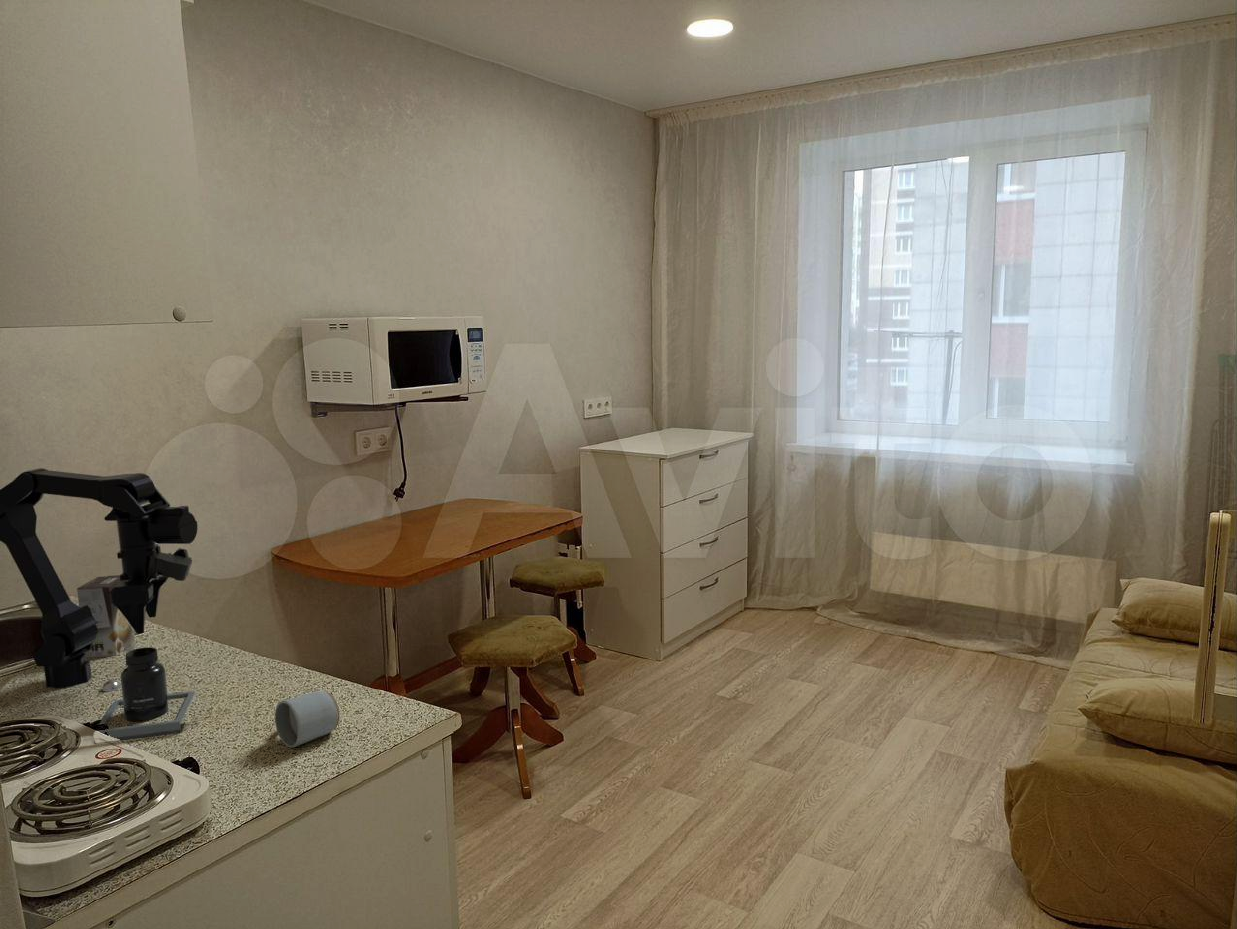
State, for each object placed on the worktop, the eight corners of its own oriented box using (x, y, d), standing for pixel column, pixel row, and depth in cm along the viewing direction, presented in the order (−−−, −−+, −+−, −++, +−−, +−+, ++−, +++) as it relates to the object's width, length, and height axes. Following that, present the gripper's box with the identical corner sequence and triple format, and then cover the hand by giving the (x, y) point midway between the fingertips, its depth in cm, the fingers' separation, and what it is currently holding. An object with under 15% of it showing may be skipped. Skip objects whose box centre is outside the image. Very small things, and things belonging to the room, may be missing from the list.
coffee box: (117, 662, 180) (108, 587, 178) (84, 664, 180) (75, 588, 177) (137, 646, 189) (128, 574, 187) (105, 648, 189) (96, 575, 186)
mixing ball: (101, 700, 162) (99, 684, 162) (105, 693, 165) (104, 678, 165) (119, 698, 163) (117, 682, 163) (123, 691, 166) (121, 676, 165)
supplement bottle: (139, 729, 149) (132, 662, 147) (116, 721, 152) (109, 654, 150) (177, 714, 154) (171, 648, 152) (155, 706, 158) (148, 642, 156)
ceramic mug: (344, 734, 147) (341, 691, 146) (300, 753, 141) (295, 708, 139) (309, 718, 153) (305, 676, 152) (265, 736, 147) (260, 692, 146)
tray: (94, 744, 145) (93, 732, 145) (116, 710, 158) (115, 700, 157) (180, 732, 149) (179, 721, 148) (195, 701, 161) (194, 690, 161)
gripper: (174, 552, 154) (183, 637, 157) (195, 528, 172) (203, 605, 175) (103, 557, 152) (114, 644, 154) (132, 533, 169) (141, 611, 172)
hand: (146, 624), depth 164 cm, fingers open, 9 cm apart
